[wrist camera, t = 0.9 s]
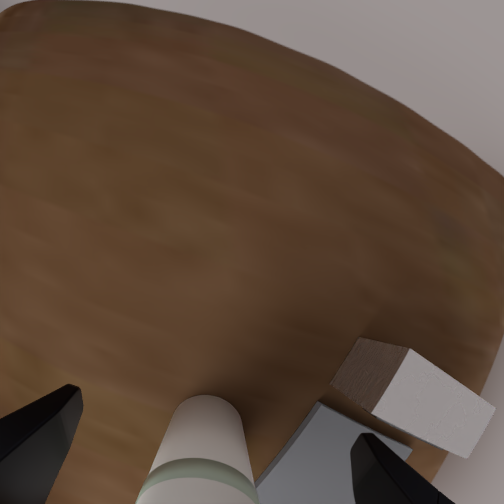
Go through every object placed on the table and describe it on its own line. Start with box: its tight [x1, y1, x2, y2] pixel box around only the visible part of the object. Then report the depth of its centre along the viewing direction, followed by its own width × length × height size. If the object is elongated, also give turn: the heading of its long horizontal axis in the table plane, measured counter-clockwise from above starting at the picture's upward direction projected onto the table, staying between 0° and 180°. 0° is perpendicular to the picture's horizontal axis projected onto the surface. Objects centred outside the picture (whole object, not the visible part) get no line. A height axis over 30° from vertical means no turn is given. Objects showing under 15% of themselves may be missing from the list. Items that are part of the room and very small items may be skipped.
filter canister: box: [135, 395, 260, 504], centre depth 14 cm, size 5×5×13 cm
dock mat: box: [254, 401, 413, 504], centre depth 20 cm, size 10×10×1 cm
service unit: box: [330, 337, 496, 459], centre depth 18 cm, size 4×10×7 cm, turn 57°
